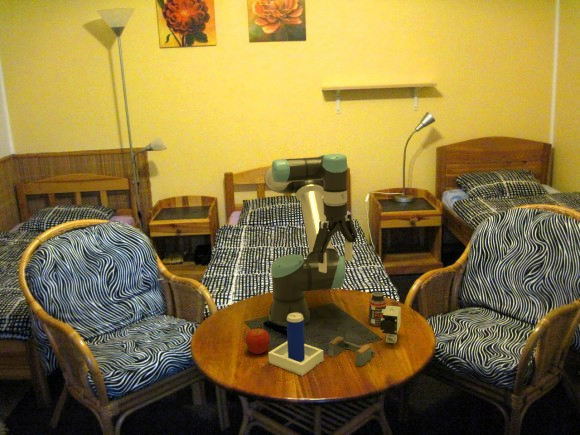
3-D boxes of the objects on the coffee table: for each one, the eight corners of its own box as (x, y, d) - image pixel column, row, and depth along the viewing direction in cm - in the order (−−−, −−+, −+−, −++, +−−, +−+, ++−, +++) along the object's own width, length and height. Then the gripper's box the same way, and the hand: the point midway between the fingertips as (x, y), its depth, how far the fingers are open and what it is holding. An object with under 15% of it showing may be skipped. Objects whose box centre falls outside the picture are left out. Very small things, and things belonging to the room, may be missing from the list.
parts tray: (268, 363, 170) (268, 352, 169) (290, 349, 178) (290, 338, 178) (302, 376, 162) (301, 365, 161) (323, 360, 171) (323, 350, 170)
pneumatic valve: (401, 334, 186) (401, 301, 183) (395, 350, 176) (396, 315, 173) (384, 332, 188) (385, 299, 185) (378, 347, 177) (379, 313, 174)
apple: (275, 351, 177) (274, 329, 175) (256, 360, 172) (255, 337, 170) (260, 343, 183) (259, 322, 181) (241, 351, 178) (240, 329, 176)
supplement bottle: (374, 328, 191) (375, 298, 188) (365, 321, 196) (365, 292, 193) (389, 324, 193) (389, 295, 190) (379, 318, 198) (380, 289, 196)
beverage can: (307, 357, 171) (306, 313, 168) (300, 365, 167) (299, 320, 163) (292, 354, 174) (291, 311, 170) (285, 362, 169) (283, 317, 165)
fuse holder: (328, 355, 173) (328, 342, 172) (342, 345, 179) (342, 332, 178) (361, 367, 166) (361, 353, 165) (374, 356, 172) (374, 343, 171)
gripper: (319, 212, 163) (320, 279, 168) (367, 197, 180) (367, 258, 186) (300, 209, 168) (302, 274, 173) (349, 194, 185) (349, 254, 191)
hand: (335, 266), depth 180 cm, fingers open, 13 cm apart
